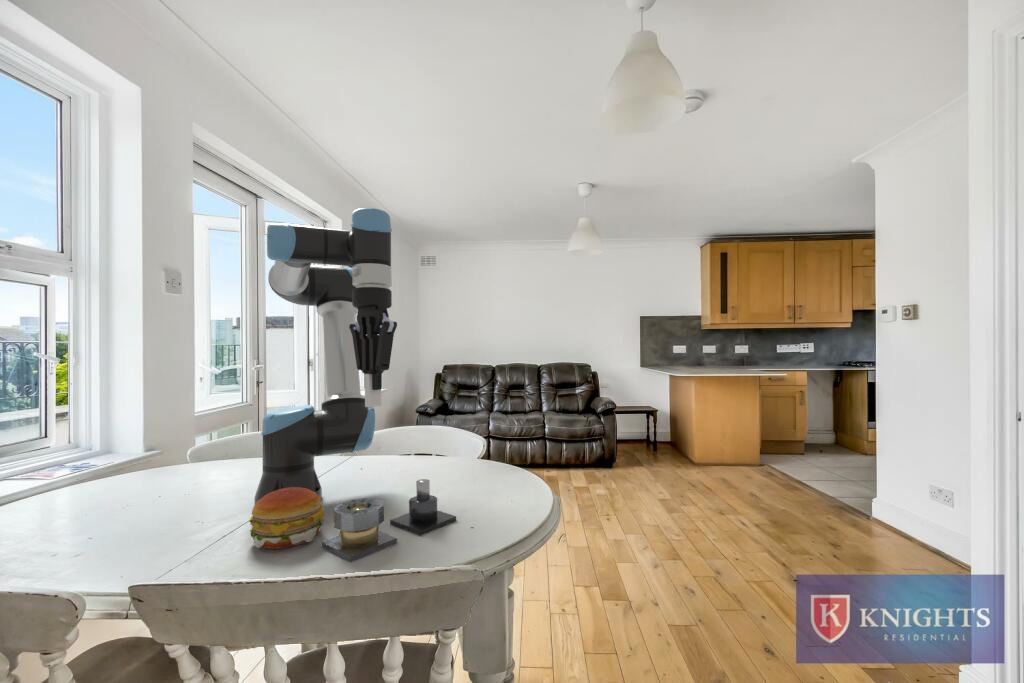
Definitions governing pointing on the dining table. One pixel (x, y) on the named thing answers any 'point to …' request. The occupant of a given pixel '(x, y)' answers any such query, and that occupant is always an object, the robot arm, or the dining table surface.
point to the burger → (286, 518)
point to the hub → (358, 542)
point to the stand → (423, 512)
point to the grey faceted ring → (358, 514)
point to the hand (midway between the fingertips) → (373, 406)
